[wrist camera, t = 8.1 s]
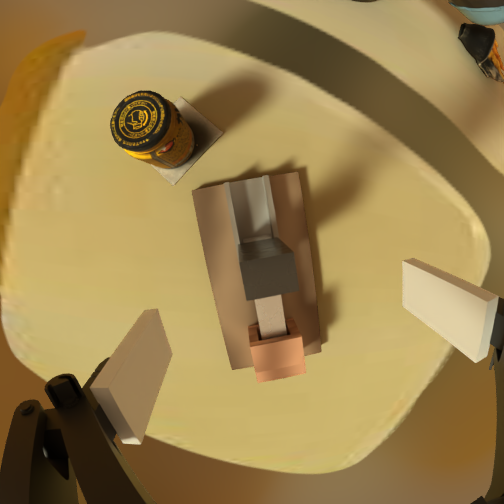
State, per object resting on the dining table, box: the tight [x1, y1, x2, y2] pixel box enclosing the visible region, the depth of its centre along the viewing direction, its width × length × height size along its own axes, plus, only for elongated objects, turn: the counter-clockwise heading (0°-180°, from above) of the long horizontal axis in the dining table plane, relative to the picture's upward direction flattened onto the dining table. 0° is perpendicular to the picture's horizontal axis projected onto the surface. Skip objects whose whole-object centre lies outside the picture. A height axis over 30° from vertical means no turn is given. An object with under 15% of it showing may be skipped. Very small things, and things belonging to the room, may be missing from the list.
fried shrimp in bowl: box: [458, 23, 504, 83], centre depth 25 cm, size 9×11×18 cm
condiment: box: [110, 91, 223, 186], centre depth 25 cm, size 7×8×12 cm
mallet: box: [238, 234, 299, 340], centre depth 27 cm, size 4×14×11 cm, turn 10°
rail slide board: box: [192, 172, 321, 383], centre depth 31 cm, size 12×23×7 cm, turn 10°
